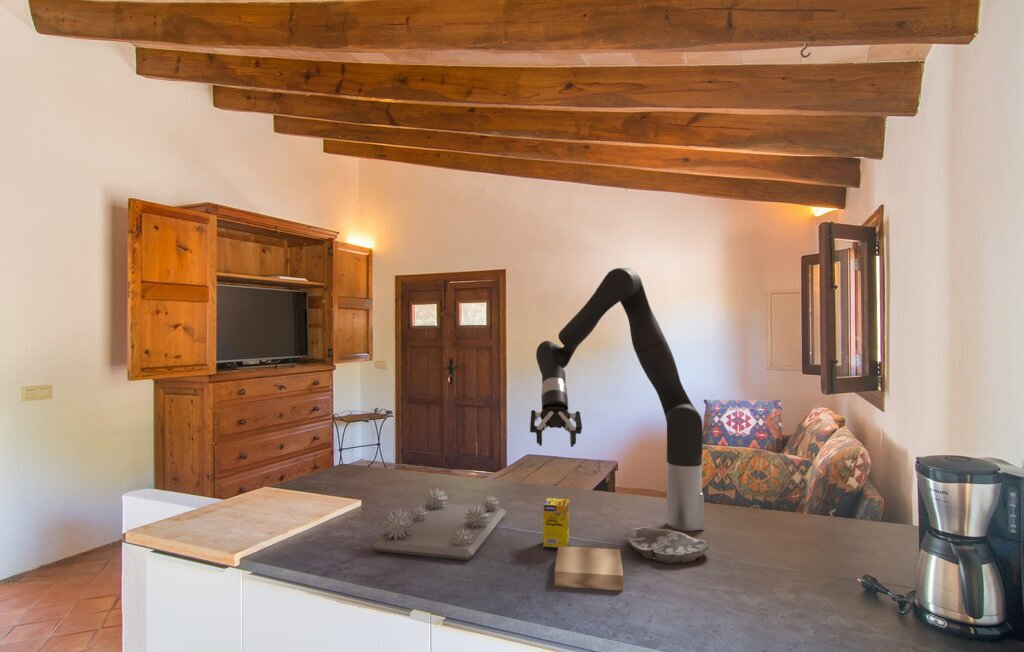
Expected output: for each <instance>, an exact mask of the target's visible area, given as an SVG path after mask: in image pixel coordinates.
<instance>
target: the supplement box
mask: <svg viewBox="0 0 1024 652" xmlns="http://www.w3.org/2000/svg"><path fill="white" fill-rule="evenodd" d="M542 509H543V510H542V512H543V515H542V517H543V522H542V524H543V525H542V527H543V528H542V529H543V531H542V533H543V537H542V538H543V543H542V544H543V545H542V546H543V547H542V548H543V550H548V551H550V550H551V551H558V547H559V546H566V547H569V545H570V499H564V498H551V497H547V498H546V499H545V501H544V503H543V506H542Z"/></svg>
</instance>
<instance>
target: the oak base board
mask: <svg viewBox="0 0 1024 652" xmlns="http://www.w3.org/2000/svg"><path fill="white" fill-rule="evenodd" d="M556 554H557V555H556V559H555V566H554V587H565V588H567V587H568V588H576V589H577V588H578V589H579V588H580V589H595V590H609V591H622V592H623V591H624V571H623V564H622V556H621V550H620V549H616V548H599V547H598V548H596V547H579V546H568V547H566V546H559V547H558V550H557V553H556Z"/></svg>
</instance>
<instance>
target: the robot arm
mask: <svg viewBox="0 0 1024 652" xmlns="http://www.w3.org/2000/svg"><path fill="white" fill-rule="evenodd" d="M619 302H620V304H621V306H622V308H623V310H624V312H625V314H626V317H627V319H628V323H629V331H630V338H631V343H632V346H633V349H634V352H635V355H636V357H637V359H638V361H639V364H640V366H641V368H642V370H643V371H644V374H645V375H646V377H647V379H648V381H649V382H650V384H651V385H652V386H653V388H654V391H656V394H657V396H658V399H659V401H660V403H661V407H662V410H663V413H664V417H665V421H666V508H667V509H666V513H667V514H666V518H667V519H666V520H667V521H666V523H667V526H668V527H670V528H672V529H674V530H678V531H684V532H696V531H700V530H701V531H704V530H705V495H704V492H703V475H702V474H703V470H702V469H703V465H702V464H703V462H702V461H703V441H704V440H703V439H704V438H703V435H704V434H703V433H704V432H703V420H702V416H701V415H700V413H699V412H698V410H697V409H696V407H695V406H694V404H693V403H692V401H691V399H690V398H689V395H688V394H687V392H686V390H685V389H684V387H683V384H682V382H681V378H680V375H679V371H678V368H677V364H676V361H675V358H674V355H673V353H672V350H671V348H670V346H669V344H668V341H667V339H666V336H665V334H664V333H663V331H662V329H661V327H660V324H659V322H658V320H657V318H656V316H655V314H654V312H653V310H652V307H651V306H650V304H649V300H648V297H647V295H646V291H645V288H644V285H643V281H642V279H641V277H640V275H639V274H638V272H636V271H635V270H634V269H632V268H629V267H618V268H617V267H616V268H614V269H611V270H610V271H608V273H607V274H606V275H605V277H604V278H603V279H602V281H600V283H599V285H598V287H597V288H596V289H595V292H594V293H593V294H592V296H591V297H590V298H589V299H588V300H587V301H586V303H585V304H584V305H583V306H582V308H581V309H580V310H579V311H578V312H577V313H576V314H575V315H574V316H573V317H572V318H571V320H570V321H569V322H568V323H566V325H564V327H563V328H562V329H561V330H560V331H559V332H558V340H559V342H560V343H561V344H562V345H563V346H562V347H561V346H560V345H558V344H556V343H554V342H553V341H550V340H545V341H544V340H543V341H542V342H540V344H539V345H538V346H537V349H536V353H535V355H536V356H535V360H536V362H537V366H538V368H539V371H540V374H541V378H542V379H541V397H540V398H541V412H536V410H534V409H532V410H531V411H530V421H529V422H530V423H529V432H530V433H535V435H536V444H537V445H539V446H542V445H543V432H544V431H546V430H547V428H548V427H549V428H550V429H553V428H557V429H561V428H562V429H564V430H565V431H566V432H568V434H569V441H570V442H569V443H570V447H574V445H576V443H577V434H578V435H581V434H582V430H583V424H582V418H581V412H580V411H579V410H577V411H575V412H573V413H571V412H570V410H569V402H568V401H569V398H568V397H569V396H568V388H567V382H566V372H565V368H566V367H567V366H568V364H569V362H570V361H571V359H572V357H573V355H574V353H575V351H576V350H577V348H578V347H579V346H580V344H582V343H583V341H585V340H586V339H587V338H588V336H589V335H590V334H591V333H592V332H593V331H594V330H595V328H596V327H597V325H598V323H599V322H600V320H601V318H603V317H604V315H605V314H606V313H607V312H608V311H609V310H610V309H612V308H613V307H614V306H615V305H617V304H618V303H619ZM538 419H541V422H540V423H539V424H538V425H537V426H536V425H535V423H536V421H538ZM570 419H572V421H573V422H575V426H574V425H573V424H572V422H571V420H570ZM542 447H543V446H542Z"/></svg>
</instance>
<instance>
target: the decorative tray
mask: <svg viewBox="0 0 1024 652" xmlns="http://www.w3.org/2000/svg"><path fill="white" fill-rule="evenodd" d="M427 494H428V496H427V495H424V499H422V500H423V501H425V502H424V504H423V506H422V507H420V506H417V508H416V507H414V508H412V511H410V512H409V510H406V512H404V511H403V510H402V509H401V507H400V508H399V511H398V510H395V514H393V513H392V511H390V510H388V514H389V515H388V514H387V512H384V513H385V515H386V520H385V519H382V518H379V520H380V521H381V524H377V526H381V527H383V528H381V529H380V531H379V532H377V534H378V536H380V539H378V540H377V541H376V542H375V543H374V544H372V547H373V548H374V549H375V550H376V551H377V552H383V553H390V554H391V553H392V554H400V555H401V554H402V555H411V556H421V557H423V556H424V557H433V558H442V559H451V560H452V559H453V560H463V561H468V560H469V559H471V558H472V556H474V555H475V553H476V552H477V551H478V549H479V548H480V547H481V546H482V544H483V543H484V542H485V541H486V539H488V537H489V535H490V534H491V533H492V532H493V531H494V529H495V528H496V526H497V525H499V523H500V522H501V520H502V519H503V518H504V516H505V515H506V514H507V511H506V510H505V509H504V508H503V507H500V506H499V505H500V502H499V500H498V498H497V497H493V496H491V495H490V496H488V497H484V498H485V500H482V502H484V503H482V505H483V506H480V504H477V505H468V504H467V505H466V504H465V505H464V504H453V503H448V502H447V500H449V499H450V498H449V497H448V495H446V490H444V489H443V490H439V489H435V490H434V492H433V491H432V489H430V491H427ZM444 495H445V496H444ZM401 510H402V512H401ZM403 513H404V514H403Z"/></svg>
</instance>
